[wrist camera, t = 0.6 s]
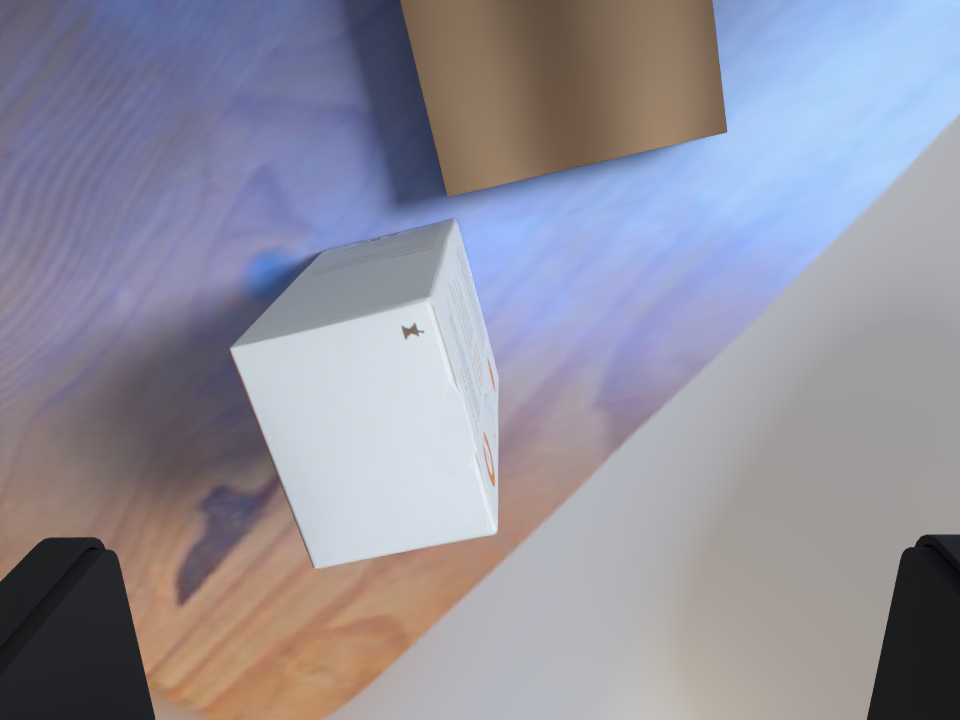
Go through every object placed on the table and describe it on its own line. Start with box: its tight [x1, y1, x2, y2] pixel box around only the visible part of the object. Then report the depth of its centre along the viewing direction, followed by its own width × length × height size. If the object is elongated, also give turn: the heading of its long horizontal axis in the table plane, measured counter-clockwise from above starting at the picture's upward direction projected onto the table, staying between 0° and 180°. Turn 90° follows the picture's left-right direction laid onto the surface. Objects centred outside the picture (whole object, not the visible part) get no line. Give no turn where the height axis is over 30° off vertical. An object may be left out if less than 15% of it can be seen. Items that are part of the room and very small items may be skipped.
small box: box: [229, 219, 499, 569], centre depth 29 cm, size 8×6×13 cm
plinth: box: [400, 0, 727, 197], centre depth 29 cm, size 11×11×3 cm
